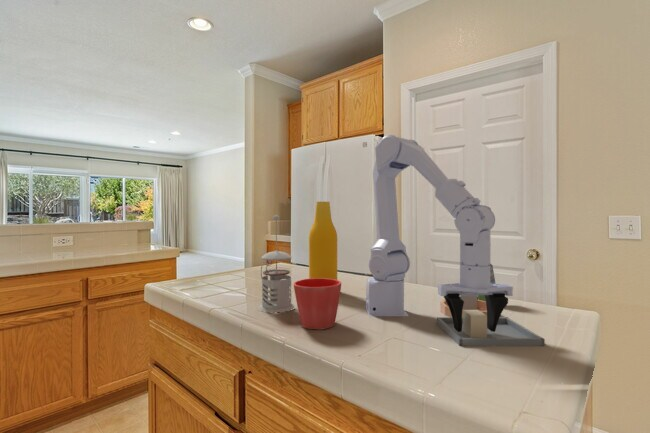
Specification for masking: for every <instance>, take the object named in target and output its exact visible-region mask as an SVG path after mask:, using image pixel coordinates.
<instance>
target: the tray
mask: <svg viewBox="0 0 650 433" xmlns="http://www.w3.org/2000/svg"><path fill="white" fill-rule="evenodd" d="M436 324H437V325H438V326H439V327H440V328H441V329H442V330H443V331H444V332H445V333H446V334H447V335H448V336H449V337H450V338H451V339H452V340H453V341H454V342H455V343H456V344H457V345H458V346H459V347H484V346H485V347H486V346H487V347H499V346H500V347H507V346H508V347H513V346H514V347H516V346H517V347H522V346H523V347H525V346H526V347H530V346H531V347H534V346H535V347H536V346H537V347H538V346H539V347H541V346H542V347H544V346H545V345H546V344H545V343H546V342H545V338H543V337H542V336H540V335H538V334H537V333H535V332H534V331H531V330H530V329H528V328H527V327H524V326H523V325H521V324H519V323H518V322H516V321H514V320H513V319H511V318H510V317H505V316H504V317H503V316H502V317H501V316H500V317H499V320H498V323H497V327H496V330H495V332H492V331H490V330H489V329H488V328H487V338H471V337H470V336H469V335H467V334H466V333H465V332H464V331H463V317H462V332H458V331H457V330H456V329H454V323H453V318H452V317H448V316H445V317H441V316H440V317H436Z"/></svg>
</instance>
